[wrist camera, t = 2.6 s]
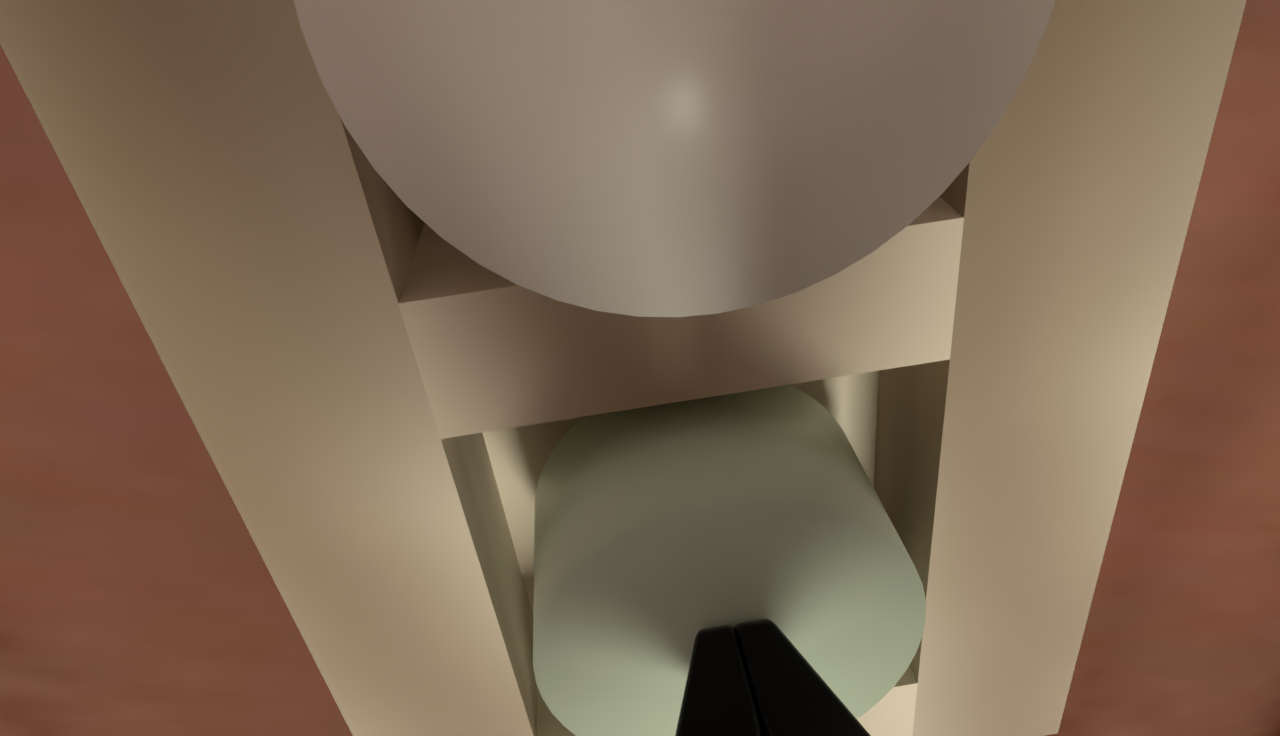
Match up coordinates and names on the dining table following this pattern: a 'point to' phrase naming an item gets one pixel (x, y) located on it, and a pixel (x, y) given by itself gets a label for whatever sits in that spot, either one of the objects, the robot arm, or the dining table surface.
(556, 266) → the button cream
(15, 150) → the dining table surface
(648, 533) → the button sage
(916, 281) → the wooden compartment tray
